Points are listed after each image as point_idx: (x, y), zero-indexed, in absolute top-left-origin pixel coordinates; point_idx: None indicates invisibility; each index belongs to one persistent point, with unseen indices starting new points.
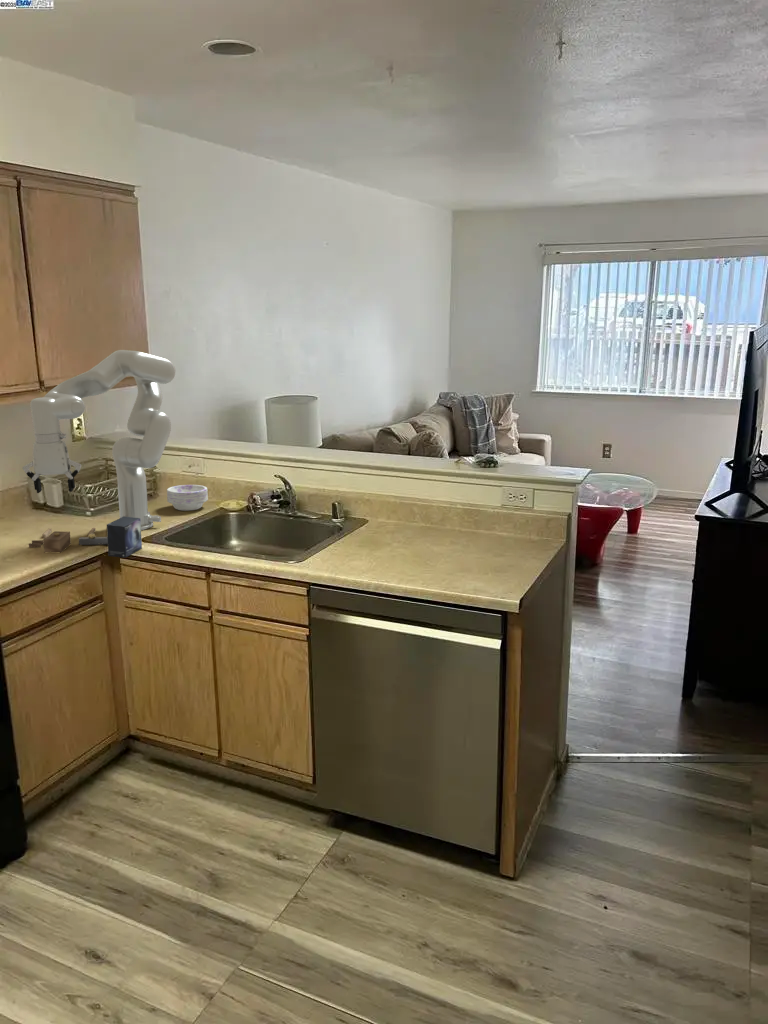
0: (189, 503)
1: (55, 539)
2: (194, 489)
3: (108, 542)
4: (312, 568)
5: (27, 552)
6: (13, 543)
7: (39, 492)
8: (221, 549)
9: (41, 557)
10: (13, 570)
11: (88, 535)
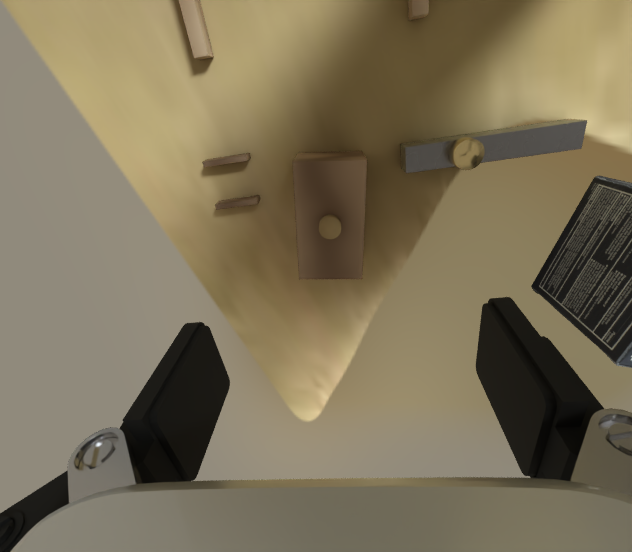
0: None
1: (345, 277)
2: None
3: (565, 316)
4: None
5: (246, 258)
6: (131, 156)
7: (228, 380)
8: None
9: (315, 302)
10: (290, 392)
11: (412, 17)
